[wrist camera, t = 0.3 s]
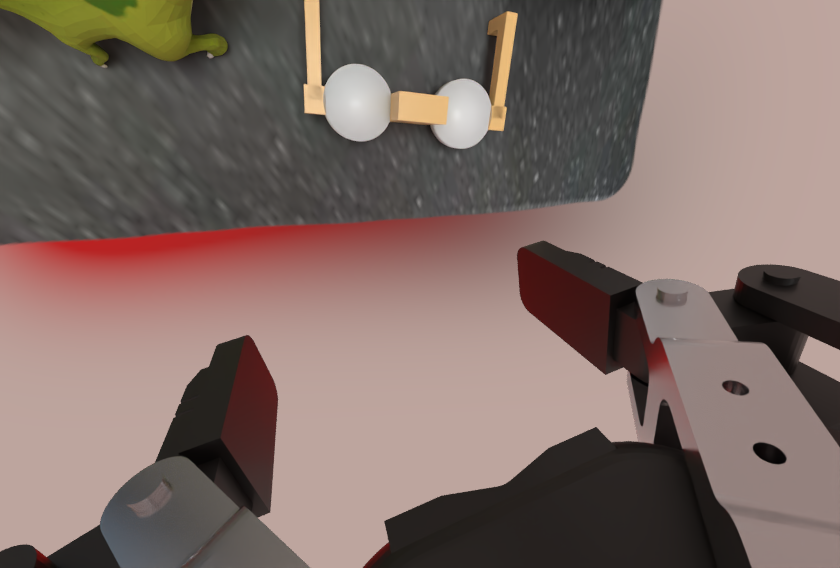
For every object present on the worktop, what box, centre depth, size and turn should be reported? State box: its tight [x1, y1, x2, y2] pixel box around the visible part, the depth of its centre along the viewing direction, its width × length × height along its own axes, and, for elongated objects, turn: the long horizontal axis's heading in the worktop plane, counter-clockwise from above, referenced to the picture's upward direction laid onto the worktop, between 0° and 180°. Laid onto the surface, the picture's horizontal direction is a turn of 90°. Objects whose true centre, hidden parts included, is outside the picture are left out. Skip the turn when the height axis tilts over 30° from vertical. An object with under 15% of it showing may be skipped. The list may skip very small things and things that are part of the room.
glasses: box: [303, 0, 518, 149], centre depth 29 cm, size 11×18×6 cm, turn 86°
